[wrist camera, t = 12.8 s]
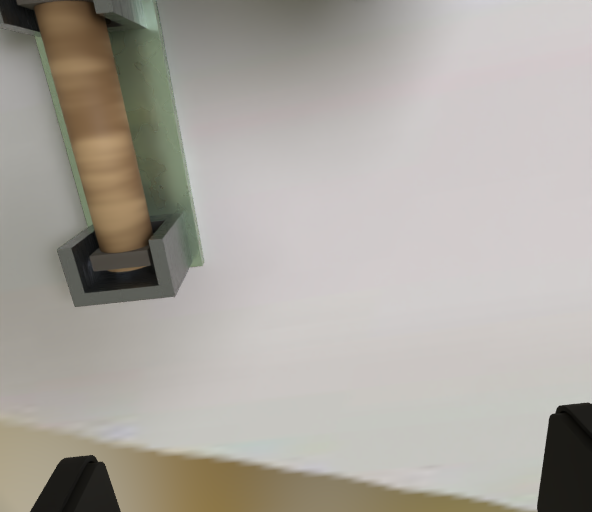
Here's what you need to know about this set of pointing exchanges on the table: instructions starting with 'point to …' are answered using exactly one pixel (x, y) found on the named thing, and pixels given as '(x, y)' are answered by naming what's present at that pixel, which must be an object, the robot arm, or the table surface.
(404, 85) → the table surface
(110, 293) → the bracket board
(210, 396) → the table surface
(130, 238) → the rail
